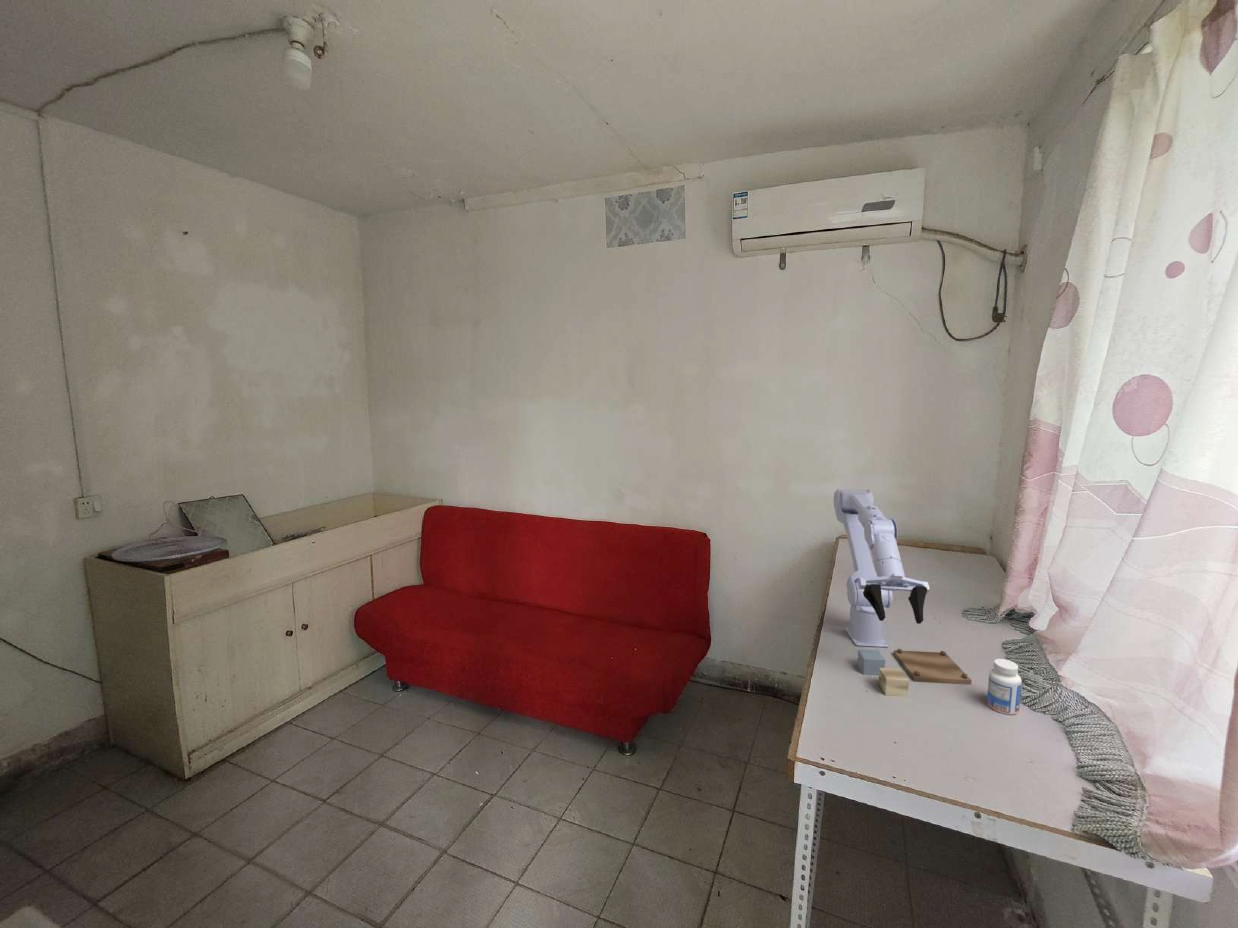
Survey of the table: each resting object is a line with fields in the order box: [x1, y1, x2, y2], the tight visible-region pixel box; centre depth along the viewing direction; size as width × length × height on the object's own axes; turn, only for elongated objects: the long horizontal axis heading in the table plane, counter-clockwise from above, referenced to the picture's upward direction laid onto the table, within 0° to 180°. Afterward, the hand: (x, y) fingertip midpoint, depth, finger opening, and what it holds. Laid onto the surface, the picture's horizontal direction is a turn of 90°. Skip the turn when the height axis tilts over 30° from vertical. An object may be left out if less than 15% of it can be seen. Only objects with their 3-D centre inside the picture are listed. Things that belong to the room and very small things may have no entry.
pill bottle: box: [986, 658, 1023, 715], centre depth 106 cm, size 6×5×10 cm
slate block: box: [857, 648, 886, 676], centre depth 121 cm, size 4×4×4 cm
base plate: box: [892, 648, 973, 685], centre depth 121 cm, size 12×12×2 cm
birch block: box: [877, 667, 910, 698], centre depth 113 cm, size 4×4×4 cm
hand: (901, 620), depth 111 cm, fingers open, 7 cm apart
